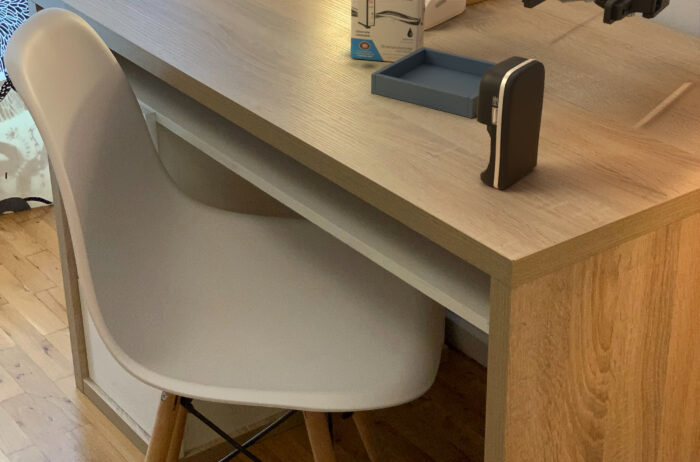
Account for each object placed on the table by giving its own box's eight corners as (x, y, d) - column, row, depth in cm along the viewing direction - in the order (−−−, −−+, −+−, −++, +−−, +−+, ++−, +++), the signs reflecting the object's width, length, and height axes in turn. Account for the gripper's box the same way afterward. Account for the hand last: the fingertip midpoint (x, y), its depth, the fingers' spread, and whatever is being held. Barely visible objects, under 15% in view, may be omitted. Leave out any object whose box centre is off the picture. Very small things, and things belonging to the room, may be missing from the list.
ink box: (349, 59, 132) (348, -36, 126) (358, 46, 136) (358, -47, 131) (417, 64, 130) (420, -32, 125) (424, 51, 134) (427, -43, 129)
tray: (520, 87, 124) (521, 68, 122) (472, 118, 116) (473, 98, 114) (422, 64, 130) (423, 46, 129) (370, 92, 122) (370, 73, 121)
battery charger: (505, 157, 107) (512, 47, 101) (538, 167, 105) (548, 56, 99) (467, 182, 102) (473, 68, 96) (502, 193, 100) (510, 77, 94)
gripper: (574, -77, 118) (504, -44, 107) (701, -58, 111) (641, -20, 99) (567, -10, 122) (499, 29, 110) (690, 13, 115) (630, 57, 103)
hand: (566, 6), depth 105 cm, fingers open, 8 cm apart
